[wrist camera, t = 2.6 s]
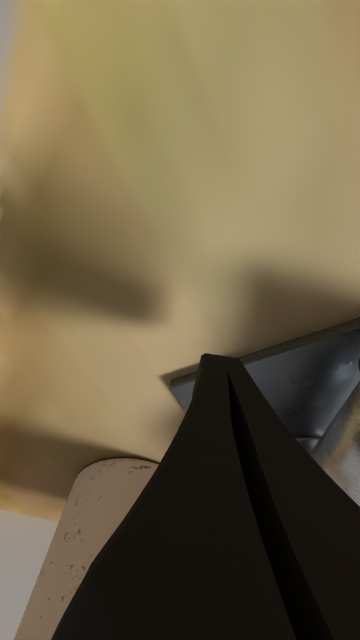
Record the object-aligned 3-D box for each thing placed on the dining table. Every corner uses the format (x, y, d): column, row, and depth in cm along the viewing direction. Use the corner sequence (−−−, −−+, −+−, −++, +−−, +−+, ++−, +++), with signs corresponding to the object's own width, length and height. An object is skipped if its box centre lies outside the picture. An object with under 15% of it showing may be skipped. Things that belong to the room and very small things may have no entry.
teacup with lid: (51, 487, 20) (-89, 802, 10) (117, 434, 17) (-6, 852, 7) (171, 540, 24) (153, 811, 14) (248, 506, 20) (299, 847, 10)
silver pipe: (318, 498, 17) (360, 615, 13) (248, 488, 17) (266, 603, 13) (450, 340, 11) (630, 469, 6) (338, 323, 11) (442, 441, 6)
